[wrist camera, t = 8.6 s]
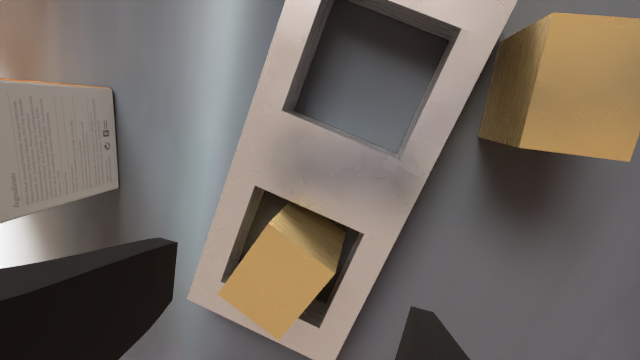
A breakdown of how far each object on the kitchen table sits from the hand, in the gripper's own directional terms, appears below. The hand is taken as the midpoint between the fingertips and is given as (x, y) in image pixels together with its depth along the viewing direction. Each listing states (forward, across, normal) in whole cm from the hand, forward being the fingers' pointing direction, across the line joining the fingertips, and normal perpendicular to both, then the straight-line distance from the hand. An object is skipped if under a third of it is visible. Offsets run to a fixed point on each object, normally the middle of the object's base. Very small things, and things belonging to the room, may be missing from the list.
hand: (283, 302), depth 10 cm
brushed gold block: (+9, +1, +2) cm, 10 cm away
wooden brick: (+10, -8, -8) cm, 15 cm away
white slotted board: (+9, 0, -2) cm, 10 cm away
